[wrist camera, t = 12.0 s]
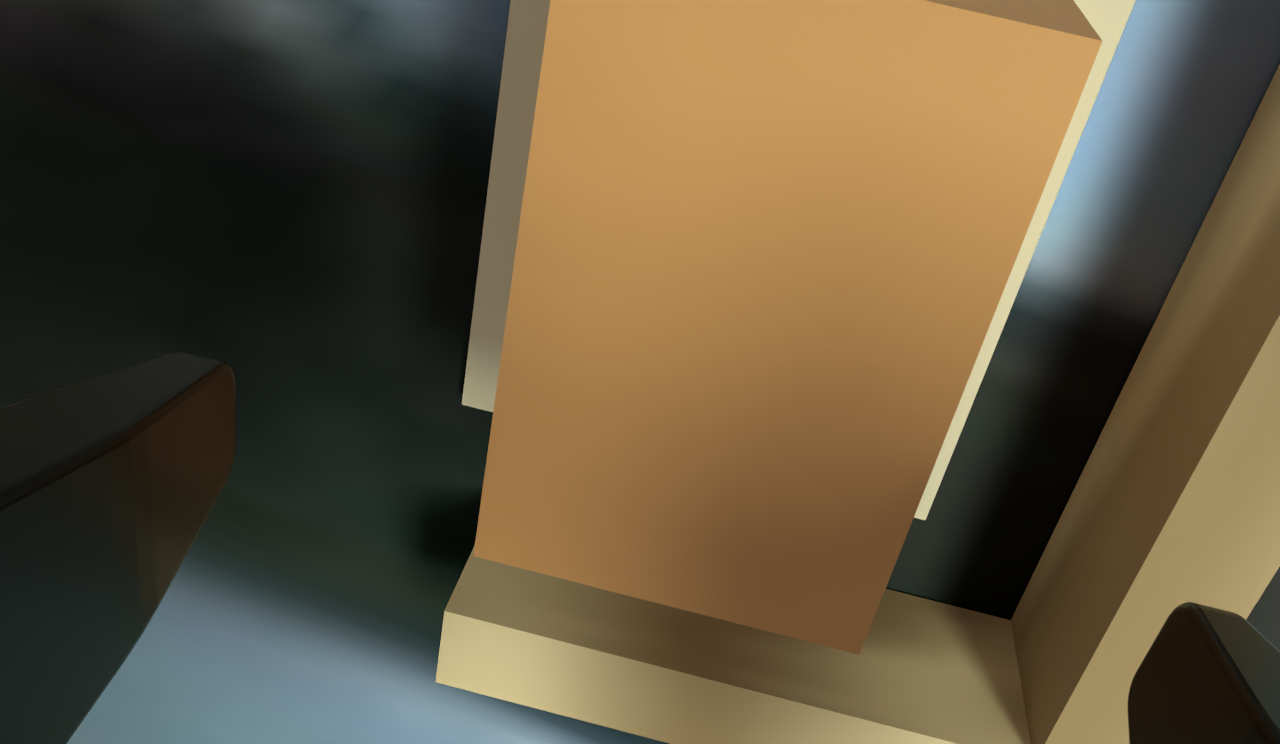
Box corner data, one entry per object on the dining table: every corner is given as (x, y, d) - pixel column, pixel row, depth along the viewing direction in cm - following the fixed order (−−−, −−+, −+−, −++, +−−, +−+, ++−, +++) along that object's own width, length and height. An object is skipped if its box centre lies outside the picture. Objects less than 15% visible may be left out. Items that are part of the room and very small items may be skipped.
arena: (1656, -374, 11) (1886, -396, 9) (1066, 705, 20) (1097, 855, 17) (659, -579, 12) (604, -656, 9) (489, 557, 20) (435, 682, 18)
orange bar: (859, 418, 17) (858, 655, 13) (568, 346, 17) (473, 556, 13) (1026, -67, 14) (1102, 41, 9) (655, -149, 14) (561, -83, 9)
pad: (1200, -178, 13) (1206, -176, 13) (924, 508, 18) (925, 520, 18) (555, -319, 13) (549, -319, 13) (467, 394, 18) (461, 404, 18)
